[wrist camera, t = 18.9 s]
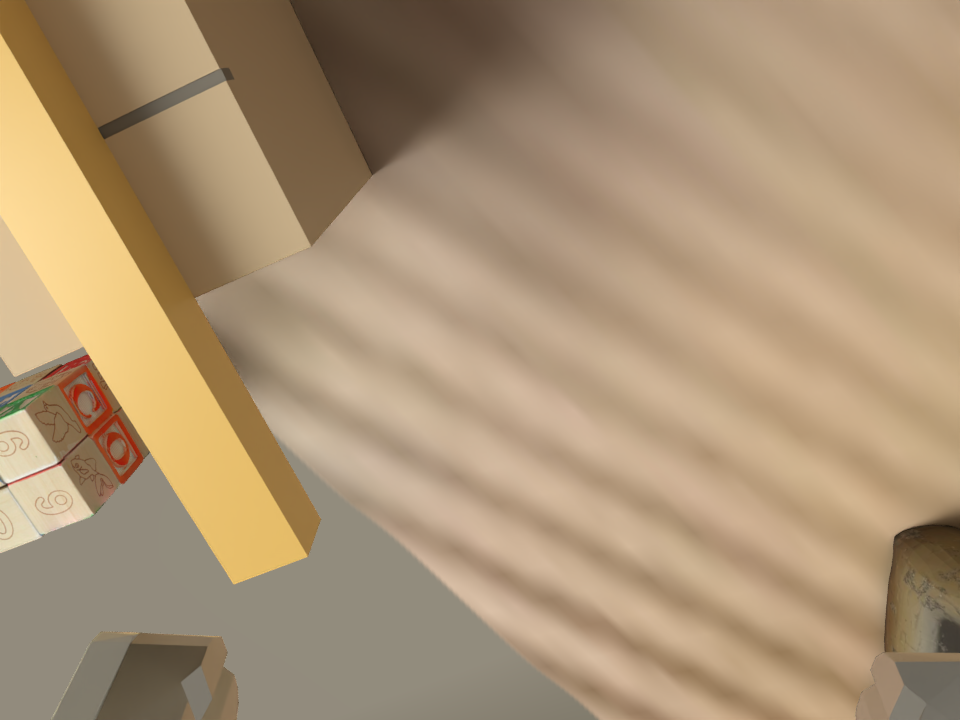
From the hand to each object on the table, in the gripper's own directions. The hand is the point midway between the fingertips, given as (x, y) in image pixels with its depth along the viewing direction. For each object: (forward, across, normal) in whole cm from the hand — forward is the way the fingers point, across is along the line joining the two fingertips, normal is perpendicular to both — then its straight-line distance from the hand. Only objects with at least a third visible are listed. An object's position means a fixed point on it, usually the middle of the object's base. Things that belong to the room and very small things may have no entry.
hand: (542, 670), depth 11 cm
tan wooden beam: (+19, +14, +3) cm, 24 cm away
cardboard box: (+35, +16, +4) cm, 39 cm away
